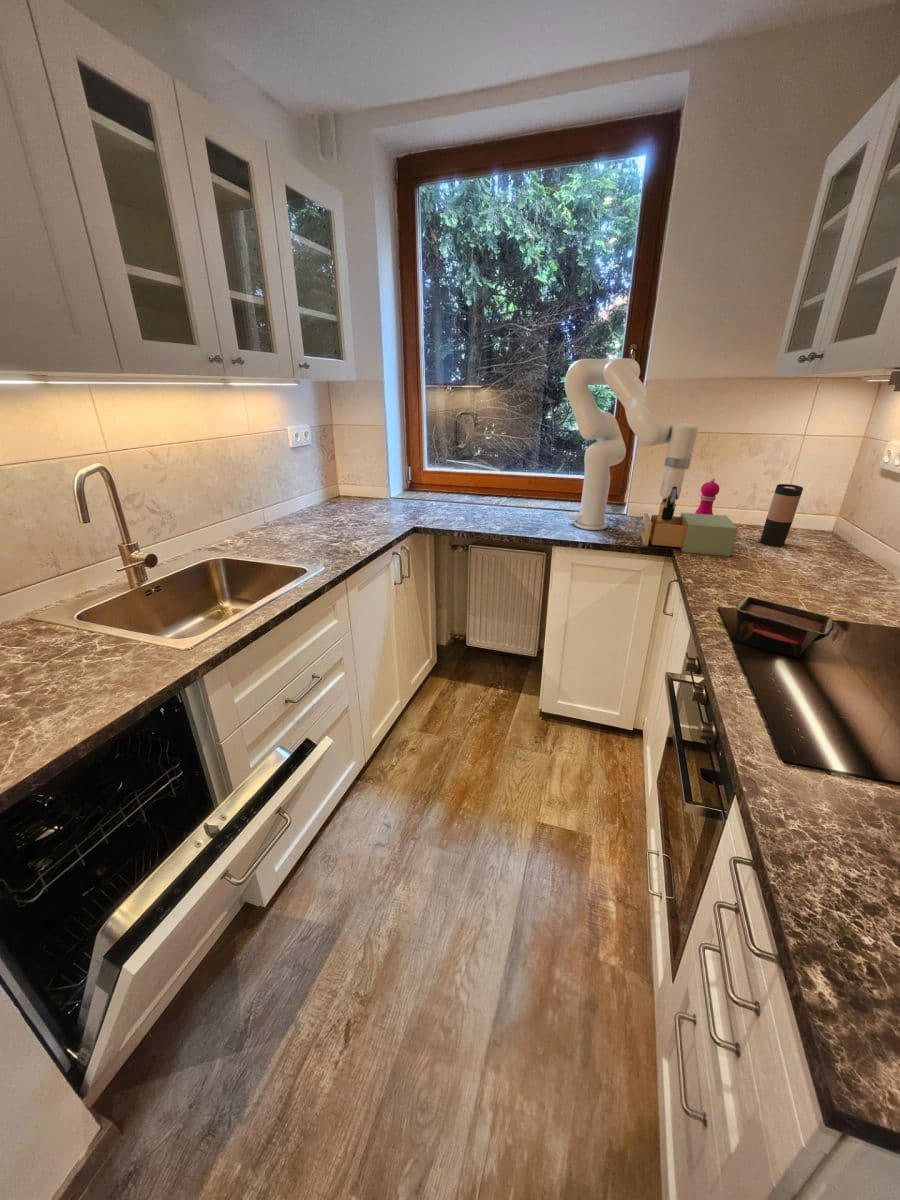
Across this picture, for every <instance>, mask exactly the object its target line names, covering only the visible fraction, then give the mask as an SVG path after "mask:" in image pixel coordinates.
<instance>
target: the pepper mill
mask: <svg viewBox="0 0 900 1200" xmlns="http://www.w3.org/2000/svg"><path fill="white" fill-rule="evenodd" d="M720 489H721V488H720V485H719V484H718V483H716V478H715V477H711V478H710V479H709V481H708V482H705V483H703V484H702V485H701V488H700V492H701V494H700V497H699V498H700V503H699V506H698V508H697V509H696V511H695V512H694V513H693V514H708V515H714V513H713V504H714V502H715V501H716V498H717V495H718V494H719V493H720Z"/></svg>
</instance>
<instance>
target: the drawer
mask: <svg viewBox="0 0 900 1200" xmlns="http://www.w3.org/2000/svg"><path fill="white" fill-rule="evenodd" d="M657 518H658V514H651V516H650V515H649V513H647V512H644V513H643V518H642V522H640V521H636V520H632V521H630V525H631V527H632V528H631V529H632V531H638V530H640V532H639V533H640V537H641V540H642V545H643V546H645V547H648V546H649V543H650V544H651V546H662V547H672V548H673V547H674V548H680V547H683V544H684V540H685V535H686V531H687V527H688V526H687V524H686V523H685V521H684V519H683V518H682V517H680V516H675V515H673V520H672V524H671V525H668V524H656V522H657ZM638 525H641V526H638Z"/></svg>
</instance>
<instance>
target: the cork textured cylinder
mask: <svg viewBox="0 0 900 1200" xmlns="http://www.w3.org/2000/svg"><path fill="white" fill-rule="evenodd" d="M665 503H666V502H662V501H661V502H660V504H659V508H658V509H659V510H658V513H657V515H658V518H657V522H656V524H668V525H671V524H672V520H673V516H675V515H674V514H675V512H676V511H675V510H676V507H677V504H676V503H675V506H674V512H673V516H672V520H663V519H662V513H663V509H664V508H665Z"/></svg>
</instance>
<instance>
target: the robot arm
mask: <svg viewBox="0 0 900 1200" xmlns="http://www.w3.org/2000/svg"><path fill="white" fill-rule="evenodd" d="M640 367H641V366H640V364H639V363H638V361H636V360H635V359H633V358H629V357H628V358H625V357H624V358H623V357H617V358H581V359H578V360H576V361H574V362H573V363H572V364H571V365H570V366H569V367H568V370H567V371H566V374H565V377H564V391H565V395H566V398H567V399H568V403H569V405H570V408H571V410H572V414H573V417H574V419H575V423H576V426H577V428H578V431H579V434H580V436H581V437H582V439H584V440H586V441H593V440H596V441H595V442H593V443H591V444H590V445H589V446H588V447H587V448H586V450H585V452H584V457H583V458H584V459H583V460H584V461H583V462H584V476H583V483H582V491H581V493H582V494H581V501H580V509H579V511H578V513H577V512H576V513H567V516H566V517H567V519H570V521H571V520H572V521H573V520H574V526H575V527H577V528H579V529H582V530H588V531H602V530H605V529H607V528H608V527H609V524H608V522H607V521H605V518H606V511H607V506H608V505H607V504H608V499H609V493H610V486H611V485H610V484H611V470H610V469H611V468H610V467H613V466H616V465H618V464H620V463H622V462H623V461H624V459H625V457H626V454H627V448H626V444H625V441H624V438H623V433H622V431H621V428H620V425H619V423H618V421H617V418H616V417H615V415H614V414H612V413H611V412H609V411H600V409H599V407H598V404H597V401H596V397H595V395H594V394H593V393H592V391H591V390H590V388H589V386H608V387H609V388H610V390H611V391H612V393H613V394H614V395H615V396H616V398H617V399H618V400H619V402H620V404H621V405H622V406H623V408H624V412H625V413H624V414H625V418H626V421H627V424H628V426H629V428H630V429H631V431H632V432H633V433H634V435H635V436H636V438H637V439H638V440H639V442H641V443H642V444H643V445H646V446H649V447H652V446H653V447H654V446H658V445H665V444H668V446H667V450H666V455H665V460H664V466H663V467H664V468H665V470H664V474H663V477H662V482H661V485H660V489H659V494H660V496H661V498H662V500H661V502H666V503H665V508H664V509H663V513H662V519H663V520H672V516H674V515H673V512H674V513H675V511H674V506H675V504H676V501H677V500H679V499H680V496H681V492H682V488H683V487H682V486H683V482H684V479H685V478H684V477H685V473H686V471H687V470H689V469H690V465H691V461H692V457H693V452H694V449H695V444H696V440H697V437H698V436H697V435H698V431H699V426H698V424H696V423H693V422H686V421H685V422H681V421H680V422H679V421H674V420H670V419H659V420H656V419H655V418H654V416H653V415H652V413H651V412H650V411H649V408H648V406H647V404H646V399H647V396H648V393H649V392H648V391H649V390H648V388H647V386H645V384H644V383H643V382H642V380H641V379H640V375H641V368H640ZM675 507H676V506H675Z"/></svg>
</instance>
